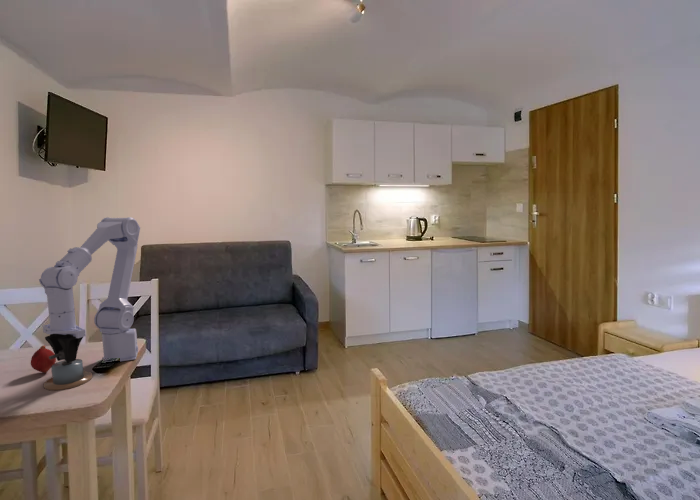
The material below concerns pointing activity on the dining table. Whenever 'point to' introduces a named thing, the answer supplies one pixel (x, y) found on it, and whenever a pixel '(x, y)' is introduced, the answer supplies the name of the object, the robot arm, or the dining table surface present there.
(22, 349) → the dining table surface
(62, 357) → the pump head
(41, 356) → the red round fruit
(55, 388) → the dispenser
